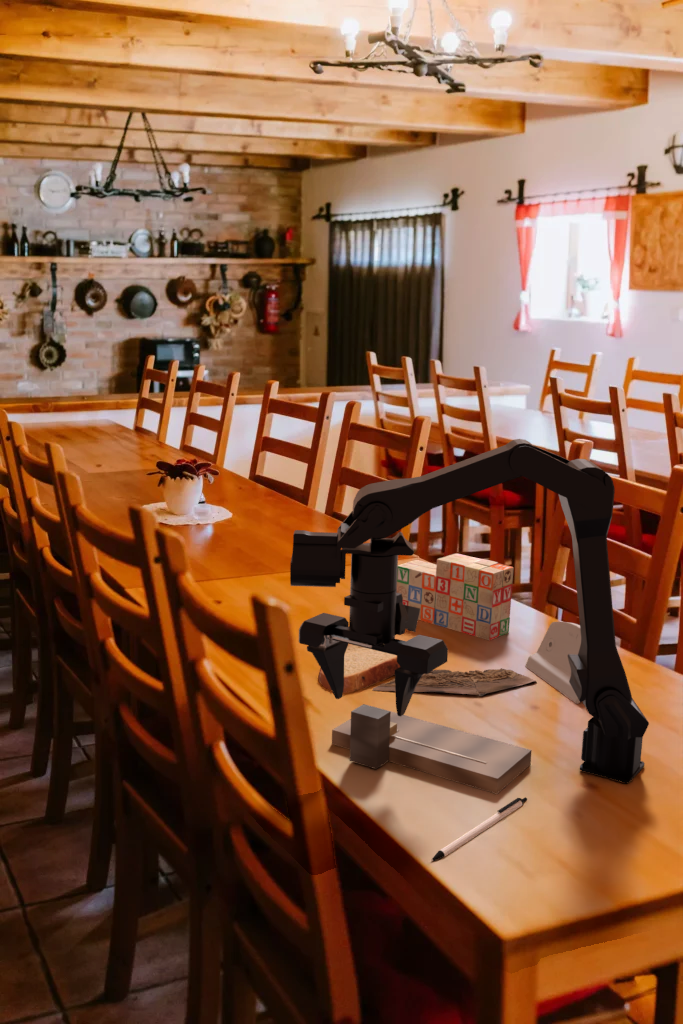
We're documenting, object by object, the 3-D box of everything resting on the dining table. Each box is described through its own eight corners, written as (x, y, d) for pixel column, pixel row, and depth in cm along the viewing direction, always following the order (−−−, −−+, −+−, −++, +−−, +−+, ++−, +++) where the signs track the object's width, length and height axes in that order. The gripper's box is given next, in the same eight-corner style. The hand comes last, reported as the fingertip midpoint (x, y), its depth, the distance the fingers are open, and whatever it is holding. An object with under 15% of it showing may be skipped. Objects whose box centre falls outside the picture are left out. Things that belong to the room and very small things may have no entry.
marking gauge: (404, 750, 141) (406, 701, 140) (376, 769, 136) (378, 719, 134) (377, 742, 143) (379, 694, 142) (349, 760, 138) (351, 711, 136)
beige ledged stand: (523, 665, 174) (546, 608, 173) (547, 672, 176) (570, 615, 175) (577, 704, 159) (602, 641, 158) (602, 711, 161) (627, 649, 160)
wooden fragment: (525, 670, 173) (525, 664, 172) (546, 697, 162) (547, 691, 162) (365, 675, 169) (365, 669, 169) (377, 703, 159) (377, 696, 158)
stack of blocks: (393, 613, 200) (396, 549, 197) (414, 606, 204) (417, 543, 202) (490, 641, 186) (494, 572, 183) (510, 633, 191) (514, 565, 188)
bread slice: (325, 696, 161) (325, 672, 160) (305, 654, 178) (305, 633, 177) (441, 690, 164) (442, 666, 163) (410, 650, 181) (411, 628, 181)
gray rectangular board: (530, 764, 139) (531, 749, 138) (496, 794, 131) (497, 777, 130) (371, 719, 152) (372, 705, 151) (331, 743, 143) (332, 728, 143)
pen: (528, 803, 129) (529, 794, 129) (435, 865, 115) (435, 856, 115) (522, 801, 130) (522, 792, 129) (428, 863, 115) (428, 853, 115)
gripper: (471, 586, 135) (464, 704, 138) (345, 561, 145) (342, 672, 148) (428, 607, 126) (422, 733, 129) (297, 579, 136) (295, 696, 139)
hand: (369, 706), depth 136 cm, fingers open, 9 cm apart
